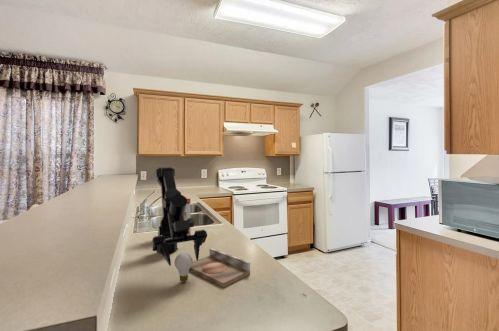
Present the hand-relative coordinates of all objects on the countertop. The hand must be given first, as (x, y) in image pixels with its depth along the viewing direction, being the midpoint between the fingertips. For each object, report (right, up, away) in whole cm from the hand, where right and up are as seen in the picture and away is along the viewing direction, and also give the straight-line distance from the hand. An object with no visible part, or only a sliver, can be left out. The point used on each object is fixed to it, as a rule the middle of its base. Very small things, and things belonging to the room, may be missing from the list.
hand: (184, 262), depth 87 cm
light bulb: (0, -7, +1) cm, 7 cm away
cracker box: (-17, -6, +51) cm, 54 cm away
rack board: (+10, -7, +9) cm, 15 cm away
